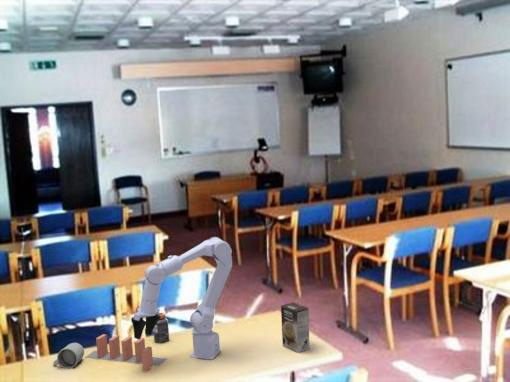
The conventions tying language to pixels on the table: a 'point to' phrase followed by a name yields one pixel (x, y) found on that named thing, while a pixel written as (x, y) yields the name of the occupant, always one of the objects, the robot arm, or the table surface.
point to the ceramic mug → (69, 355)
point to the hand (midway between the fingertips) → (142, 336)
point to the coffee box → (295, 327)
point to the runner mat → (132, 360)
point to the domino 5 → (147, 358)
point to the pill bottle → (161, 330)
